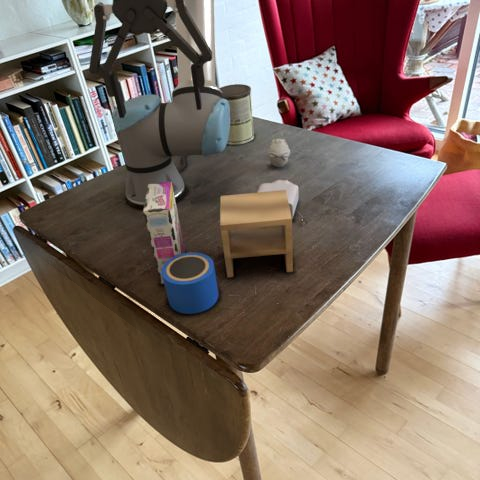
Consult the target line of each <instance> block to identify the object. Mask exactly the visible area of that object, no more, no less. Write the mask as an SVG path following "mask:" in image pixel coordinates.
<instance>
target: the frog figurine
mask: <svg viewBox="0 0 480 480" xmlns="http://www.w3.org/2000/svg"><path fill="white" fill-rule="evenodd" d="M290 156H291V150H290V148H289V145H288V143H287V142H286V139H285V138H276V139H275V138H274V139H272V140H271V144H269V147H268V150H267V157H268V158H269V161H270V163H271V165H273V166H274V167H276V168H282V167H284V166H285V165H287V163H288V162H289V161H288V160H289V157H290Z"/></svg>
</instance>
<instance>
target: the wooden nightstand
mask: <svg viewBox="0 0 480 480" xmlns="http://www.w3.org/2000/svg"><path fill="white" fill-rule="evenodd" d="M257 192H258V191H257ZM257 192H249V193H239V194H229V195H228V194H227V195H220V199H219V200H220V203H219V204H220V205H219V206H220V207H219V208H220V210H219V211H220V212H219V227H220V234H221V235H220V236H221V242H222V249H223V257H224V264H225V269H226V271H225V272H226V278H233V277H234V259H240V258H241V259H242V258H250V257H251V258H252V257H263V256H273V255H283V259H284V263H285V271H286V273H292V272H294V268H293V265H294V263H293V219H292V217H291V212H290V207H289V202H288V198H287V193H286V190H279V191H268V192H258V193H257Z"/></svg>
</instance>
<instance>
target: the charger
mask: <svg viewBox="0 0 480 480" xmlns="http://www.w3.org/2000/svg"><path fill="white" fill-rule="evenodd" d="M279 190H286V193H287V198H288V202H289V207H290V212H291V217H292V220H293V219H294V215H295V213H296V210H297V206H298V202H299V186H298V185H297V184H295V183H293V182H291V181H289V179H286V180H282V179H278V180H274V181H272V182H263V183H261V184H260V185H259V188H258V190H257V191H256V193H258V192H268V191H279Z"/></svg>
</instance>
